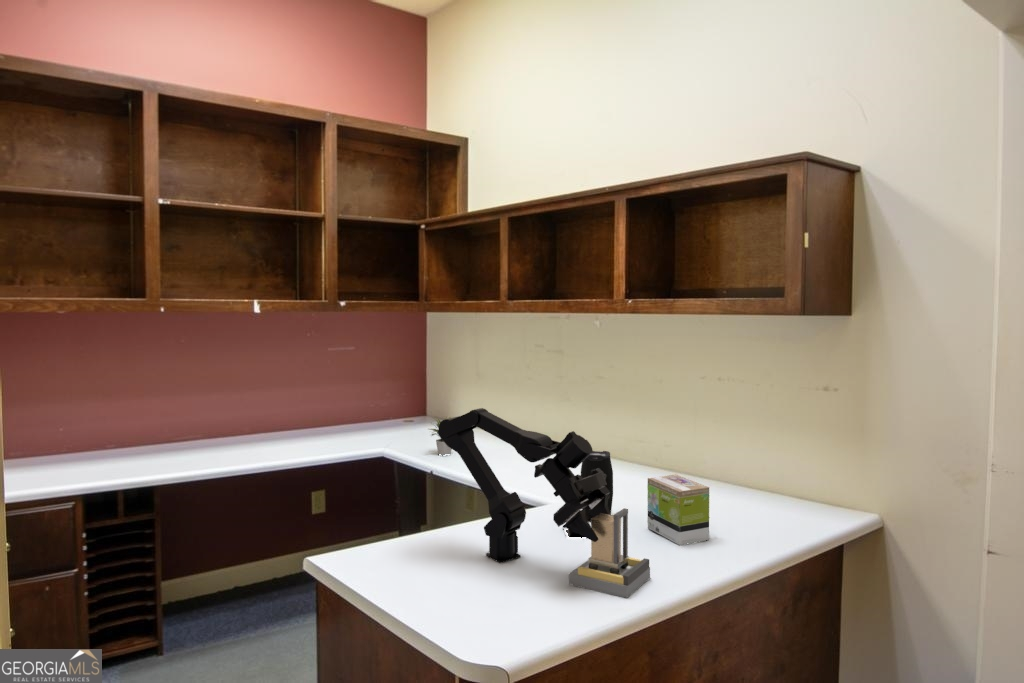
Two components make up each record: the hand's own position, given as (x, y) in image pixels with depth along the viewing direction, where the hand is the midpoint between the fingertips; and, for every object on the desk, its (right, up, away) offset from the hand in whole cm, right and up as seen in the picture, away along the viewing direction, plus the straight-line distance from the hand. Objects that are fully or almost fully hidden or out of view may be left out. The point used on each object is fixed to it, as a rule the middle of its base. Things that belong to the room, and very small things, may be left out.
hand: (605, 535), depth 159 cm
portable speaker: (+4, -8, +46) cm, 47 cm away
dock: (+1, -10, 0) cm, 10 cm away
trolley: (0, -8, 0) cm, 8 cm away
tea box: (+24, -9, +31) cm, 40 cm away
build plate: (-4, -10, +33) cm, 34 cm away
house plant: (-50, -4, +136) cm, 145 cm away
